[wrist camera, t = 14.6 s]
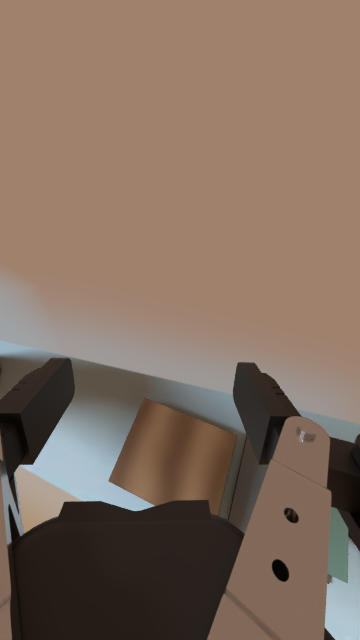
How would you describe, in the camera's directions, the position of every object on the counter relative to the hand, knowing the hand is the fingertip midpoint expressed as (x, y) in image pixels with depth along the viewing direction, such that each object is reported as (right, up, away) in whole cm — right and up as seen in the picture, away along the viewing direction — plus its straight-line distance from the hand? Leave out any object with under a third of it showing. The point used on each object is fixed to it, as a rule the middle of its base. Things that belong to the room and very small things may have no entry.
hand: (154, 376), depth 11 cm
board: (+1, -17, +22) cm, 28 cm away
